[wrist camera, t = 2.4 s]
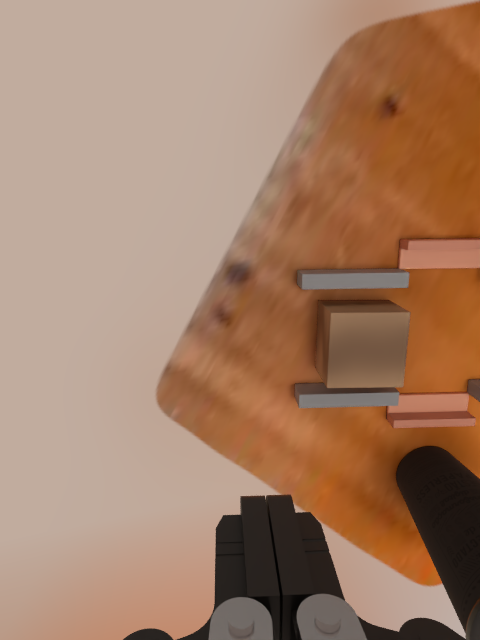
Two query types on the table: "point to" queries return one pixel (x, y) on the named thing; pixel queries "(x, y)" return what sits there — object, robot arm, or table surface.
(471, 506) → the drinking cup
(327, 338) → the walnut block
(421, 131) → the table surface
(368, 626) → the robot arm
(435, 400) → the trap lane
